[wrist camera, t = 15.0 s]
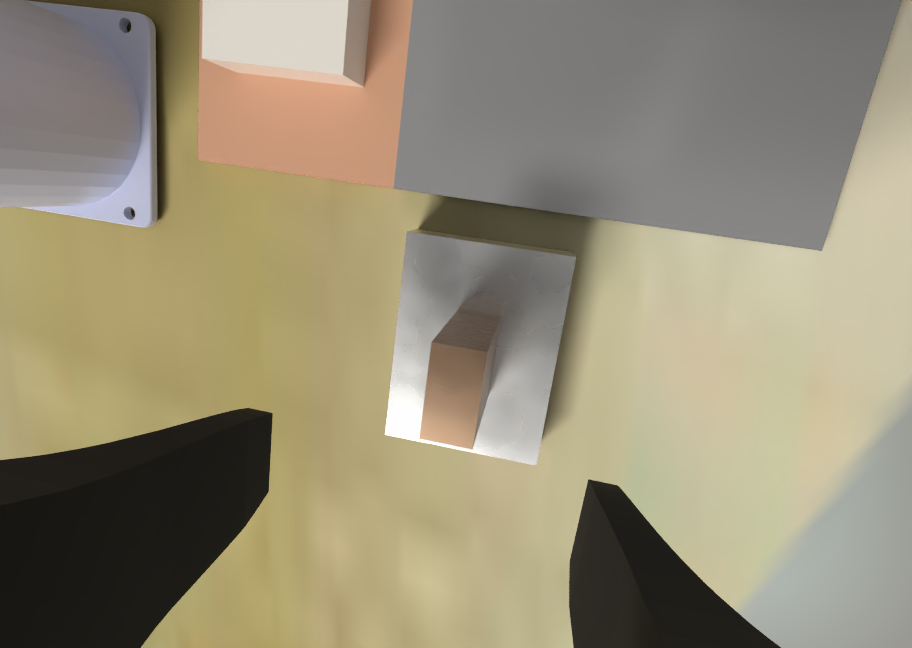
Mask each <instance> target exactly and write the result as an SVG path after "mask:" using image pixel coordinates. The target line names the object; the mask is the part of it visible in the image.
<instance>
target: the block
mask: <svg viewBox="0 0 912 648" xmlns="http://www.w3.org/2000/svg"><path fill="white" fill-rule="evenodd" d="M370 8H371V0H203V6H202V59H205V60H207V61H210V62H212V63H215V64H217V65H220V66H222V67H225V68H227V69H230V70H232V71H235V72H239V73H248V74H256V75H264V76H273V77H281V78H289V79H298V80H306V81H314V82H322V83H331V84H339V85H347V86H356V87H364V78H365V66H366V55H367V43H368V31H369V19H370Z"/></svg>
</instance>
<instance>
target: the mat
mask: <svg viewBox="0 0 912 648" xmlns="http://www.w3.org/2000/svg"><path fill="white" fill-rule="evenodd" d="M901 1H902V0H371V8H370V19H369V31H368V43H367V55H366V66H365V78H364V87H356V86H347V85H339V84H331V83H322V82H314V81H306V80H298V79H289V78H281V77H273V76H264V75H256V74H248V73H239V72H235V71H232V70H230V69H227V68H225V67H222V66H220V65H217V64H215V63H212V62H210V61H207V60H205V59H202V6H203V0H200V20H199V125H198V160H201V161H208V162H215V163H221V164H228V165H235V166H242V167H249V168H256V169H263V170H270V171H276V172H283V173H290V174H297V175H304V176H311V177H318V178H325V179H331V180H338V181H345V182H352V183H359V184H366V185H373V186H380V187H386V188H393V189H400V190H407V191H414V192H421V193H428V194H435V195H441V196H448V197H455V198H462V199H469V200H476V201H483V202H490V203H496V204H503V205H510V206H517V207H524V208H531V209H538V210H545V211H551V212H558V213H565V214H572V215H579V216H586V217H593V218H600V219H606V220H613V221H620V222H627V223H634V224H641V225H648V226H654V227H661V228H668V229H675V230H682V231H689V232H696V233H703V234H709V235H716V236H723V237H730V238H737V239H744V240H751V241H758V242H764V243H771V244H778V245H785V246H792V247H799V248H806V249H813V250H819V251H822V249H823V246H824V243H825V240H826V237H827V233H828V230H829V227H830V224H831V221H832V218H833V215H834V211H835V208H836V205H837V202H838V199H839V196H840V192H841V189H842V186H843V183H844V180H845V177H846V174H847V170H848V167H849V164H850V161H851V158H852V155H853V152H854V148H855V145H856V142H857V139H858V136H859V133H860V130H861V126H862V123H863V120H864V117H865V114H866V111H867V108H868V104H869V101H870V98H871V95H872V92H873V89H874V85H875V82H876V79H877V76H878V73H879V70H880V67H881V63H882V60H883V57H884V54H885V51H886V48H887V45H888V41H889V38H890V35H891V32H892V29H893V26H894V23H895V19H896V16H897V13H898V10H899V7H900V4H901Z"/></svg>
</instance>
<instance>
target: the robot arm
mask: <svg viewBox="0 0 912 648" xmlns="http://www.w3.org/2000/svg"><path fill="white" fill-rule="evenodd" d="M129 22H131V30H130V31H129V33H128V31H127V25H128V23H129ZM0 207H22V208H28V209H34V210H40V211H46V212H52V213H58V214H64V215H71V216H77V217H83V218H89V219H95V220H101V221H107V222H113V223H119V224H125V225H131V226H137V227H151V226H153V225H154V224H155V223H156V221H157V119H156V30H155V25H154V23H153V21H152V20H151V19H150V18H149V17H148V16H145V15H143V14H141V13H138V12H128V11H119V10H110V9H100V8H91V7H82V6H72V5H63V4H54V3H44V2H35V1H26V0H0ZM132 208H133V210H134V211H135V218H133V216H132V214H131V210H132ZM271 433H272V413H269V412H264V411H260V410H255V409H250V408H245V409H239V410H234V411H229V412H225V413H221V414H217V415H213V416H209V417H206V418H202V419H199V420H195V421H191V422H188V423H184V424H181V425H177V426H173V427H170V428H166V429H162V430H159V431H155V432H151V433H147V434H143V435H139V436H135V437H131V438H126V439H122V440H118V441H114V442H110V443H106V444H101V445H96V446H91V447H86V448H81V449H76V450H70V451H64V452H59V453H53V454H47V455H40V456H33V457H24V458H16V459H7V460H0V648H141V646H142V645H143V644H144V642H145V641H146V640H147V638H148V637H149V636H150V634H151V633H152V632H153V630H154V629H155V628H156V626H157V625H158V624H159V623H160V622H161V620H162V619H163V618H164V617H165V616H166V614H167V613H168V612H169V611H170V610H171V609H172V607H173V606H174V605H175V604H176V603H177V602H178V601H179V600H180V599H181V597H182V596H183V595H184V594H185V593H186V592H187V591H188V590H189V589H190V588H191V586H192V585H193V584H194V583H195V582H196V581H197V580H198V579H199V578H200V577H201V575H202V574H203V573H204V572H205V571H206V570H207V569H208V568H209V567H210V565H211V564H212V563H213V562H214V561H215V560H216V559H217V558H218V557H219V556H220V554H221V553H222V552H223V551H224V550H225V549H226V548H227V547H228V545H229V544H230V543H231V542H232V541H233V540H234V539H235V538H236V536H237V535H238V534H239V533H240V532H241V531H242V529H243V528H244V527H245V526H246V524H247V523H248V521H249V520H250V519H251V517H252V516H253V514H254V513H255V511H256V510H257V508H258V507H259V505H260V504H261V502H262V501H263V499H264V498H265V496H266V495H267V493H268V492H269V472H270V453H271ZM569 608H570V618H571V627H572V636H573V645H574V648H781V647H779V646H778V645H777V644H775V643H774V642H773V641H771V640H770V639H769V638H767V637H766V636H765V635H764V634H762V633H761V632H760V631H759V630H757V629H756V628H755V627H754V626H752V625H751V624H750V623H749V622H748V621H746V620H745V619H744V618H743V617H742V616H741V615H740V614H738V613H737V612H736V611H735V610H734V609H733V608H732V607H730V606H729V605H728V604H727V603H726V602H725V601H724V600H722V599H721V598H720V597H719V596H718V595H717V594H716V593H715V592H714V591H713V590H712V589H711V588H709V587H708V586H707V585H706V584H705V583H704V582H703V581H702V580H701V579H700V578H699V577H698V576H697V575H696V574H695V573H694V572H693V571H692V570H691V569H690V568H689V567H688V566H687V565H686V564H685V562H684V561H683V560H682V559H681V558H680V557H679V556H678V555H677V554H676V553H675V552H674V551H673V550H672V549H671V547H670V546H669V545H668V544H667V543H666V542H665V541H664V540H663V538H662V537H661V536H660V535H659V534H658V533H657V532H656V530H655V529H654V528H653V527H652V526H651V525H650V523H649V522H648V521H647V520H646V519H645V517H644V516H643V515H642V514H641V513H640V511H639V510H638V509H637V508H636V506H635V505H634V504H633V503H632V502H631V500H630V499H629V498H628V497H627V495H626V494H625V493H624V492H623V491H622V490H621V489H620V487H619V486H617V485H612V484H608V483H603V482H598V481H593V480H588V484H587V488H586V493H585V497H584V501H583V506H582V510H581V514H580V519H579V523H578V528H577V532H576V536H575V541H574V545H573V549H572V554H571V558H570V580H569Z"/></svg>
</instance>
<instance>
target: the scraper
mask: <svg viewBox="0 0 912 648" xmlns="http://www.w3.org/2000/svg"><path fill="white" fill-rule="evenodd" d="M575 262H576V255H575V253H574V252H569V251H562V250H556V249H549V248H542V247H535V246H529V245H522V244H515V243H509V242H502V241H495V240H489V239H482V238H475V237H469V236H462V235H455V234H449V233H442V232H435V231H429V230H422V229H416V230H412V231H407V235H406V245H405V254H404V263H403V273H402V282H401V291H400V301H399V310H398V319H397V328H396V338H395V347H394V356H393V366H392V375H391V384H390V394H389V403H388V412H387V422H386V431H385V435H390V436H394V437H399V438H404V439H409V440H414V441H419V442H424V443H429V444H433V445H438V446H443V447H448V448H453V449H458V450H463V451H468V452H472V453H477V454H482V455H487V456H492V457H497V458H502V459H507V460H511V461H516V462H521V463H526V464H531V465H537V460H538V455H539V449H540V444H541V439H542V434H543V429H544V423H545V418H546V413H547V408H548V402H549V397H550V392H551V387H552V382H553V376H554V371H555V366H556V361H557V356H558V350H559V345H560V340H561V335H562V330H563V324H564V319H565V314H566V309H567V303H568V298H569V293H570V288H571V283H572V277H573V272H574V267H575Z"/></svg>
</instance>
